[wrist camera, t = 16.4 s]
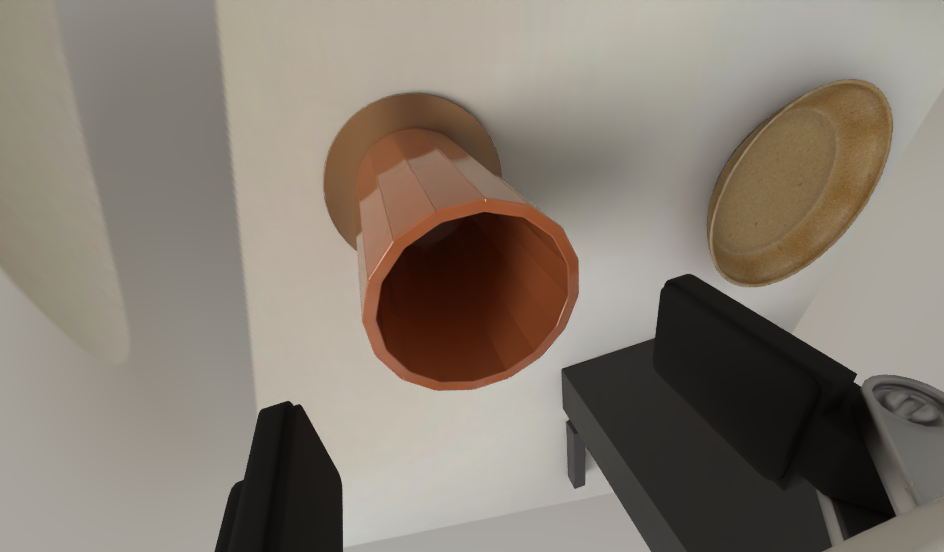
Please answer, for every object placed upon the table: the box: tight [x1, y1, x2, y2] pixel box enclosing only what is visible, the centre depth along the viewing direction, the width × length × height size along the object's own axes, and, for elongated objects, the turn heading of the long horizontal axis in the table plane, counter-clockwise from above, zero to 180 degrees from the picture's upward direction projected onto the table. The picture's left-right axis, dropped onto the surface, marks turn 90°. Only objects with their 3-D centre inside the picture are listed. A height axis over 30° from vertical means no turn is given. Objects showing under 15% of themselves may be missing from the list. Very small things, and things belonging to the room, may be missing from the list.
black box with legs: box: [562, 339, 832, 552], centre depth 30 cm, size 13×16×20 cm
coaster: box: [323, 93, 501, 251], centre depth 22 cm, size 10×10×1 cm
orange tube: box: [354, 128, 579, 391], centre depth 17 cm, size 7×7×12 cm
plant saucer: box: [707, 79, 893, 287], centre depth 29 cm, size 15×15×3 cm
